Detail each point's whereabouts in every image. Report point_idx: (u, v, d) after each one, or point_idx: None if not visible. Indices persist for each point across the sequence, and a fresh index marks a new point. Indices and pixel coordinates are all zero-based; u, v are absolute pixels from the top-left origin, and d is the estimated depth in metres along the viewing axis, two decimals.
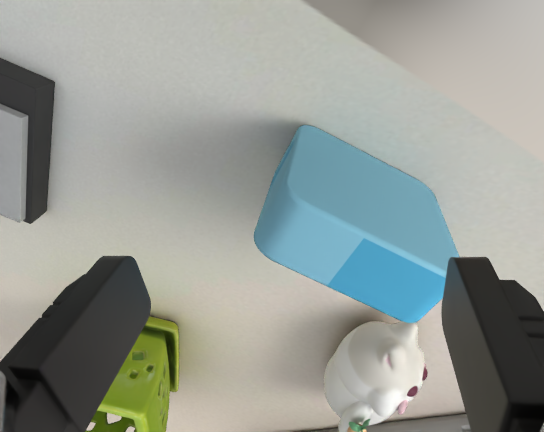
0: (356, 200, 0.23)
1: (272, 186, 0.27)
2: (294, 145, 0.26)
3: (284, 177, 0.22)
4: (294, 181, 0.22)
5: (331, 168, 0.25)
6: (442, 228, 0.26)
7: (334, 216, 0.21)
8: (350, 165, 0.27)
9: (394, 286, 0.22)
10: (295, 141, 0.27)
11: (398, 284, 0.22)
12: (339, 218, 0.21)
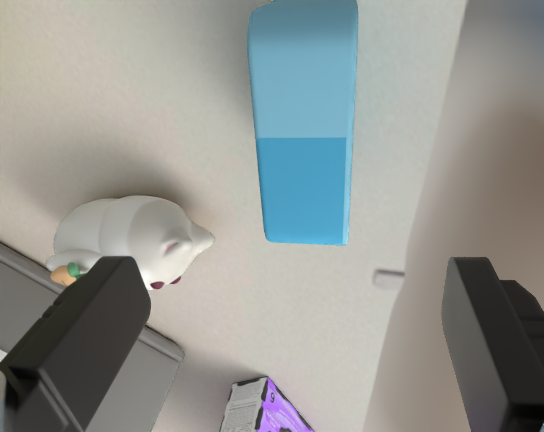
0: None
1: (295, 0, 0.20)
2: None
3: (354, 2, 0.16)
4: None
5: None
6: None
7: (354, 91, 0.16)
8: None
9: (304, 199, 0.19)
10: None
11: (308, 202, 0.19)
12: (354, 98, 0.17)
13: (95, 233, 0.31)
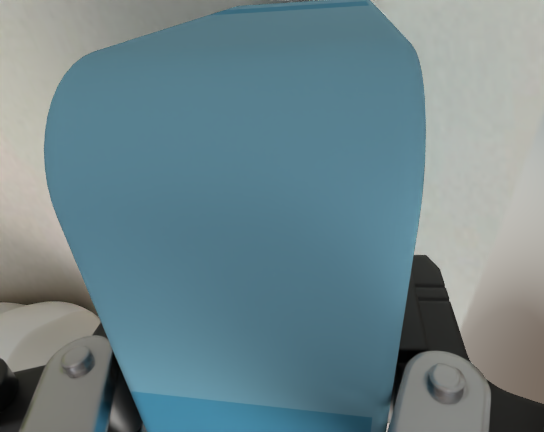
0: None
1: (242, 17, 0.09)
2: (377, 9, 0.09)
3: (401, 36, 0.05)
4: None
5: None
6: None
7: (402, 319, 0.05)
8: None
9: None
10: (375, 6, 0.10)
11: None
12: None
13: None
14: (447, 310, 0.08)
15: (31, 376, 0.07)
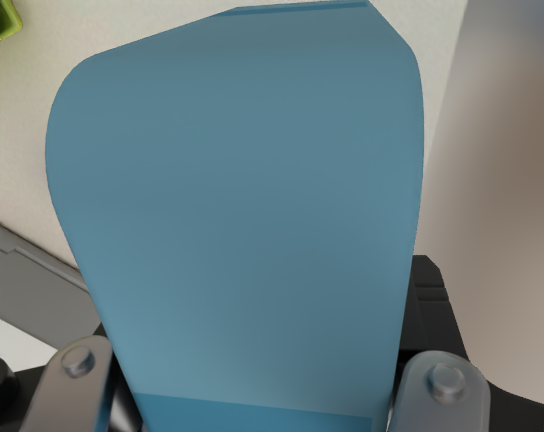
0: None
1: (242, 19, 0.09)
2: (376, 10, 0.09)
3: (400, 38, 0.05)
4: None
5: None
6: None
7: (402, 320, 0.05)
8: None
9: None
10: (374, 7, 0.10)
11: None
12: None
13: None
14: (447, 310, 0.08)
15: (31, 376, 0.07)
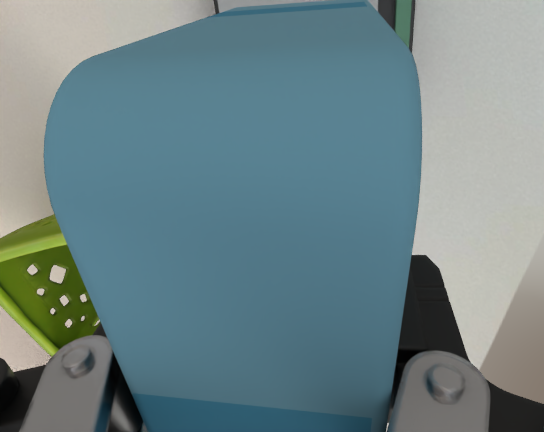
0: None
1: (241, 19, 0.09)
2: (375, 10, 0.09)
3: (398, 39, 0.05)
4: None
5: None
6: None
7: (401, 320, 0.05)
8: None
9: None
10: (373, 7, 0.10)
11: None
12: (399, 333, 0.05)
13: None
14: (447, 310, 0.08)
15: (31, 376, 0.07)
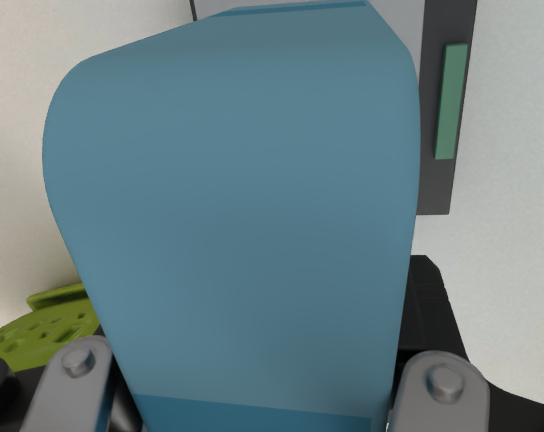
0: None
1: (240, 19, 0.09)
2: (374, 9, 0.09)
3: (396, 38, 0.05)
4: None
5: None
6: None
7: (400, 320, 0.05)
8: None
9: None
10: (372, 6, 0.10)
11: None
12: None
13: None
14: (446, 310, 0.08)
15: (31, 376, 0.07)
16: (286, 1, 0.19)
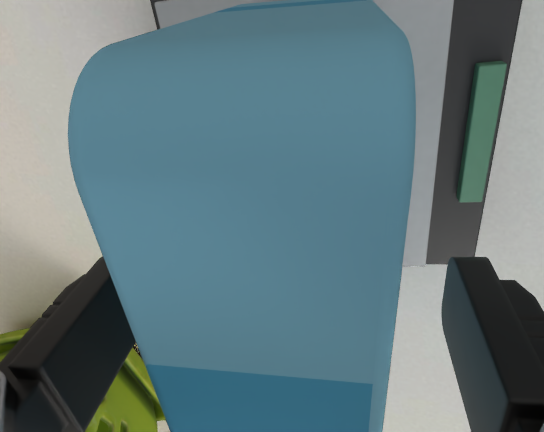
0: None
1: (246, 13, 0.09)
2: (375, 4, 0.09)
3: (394, 25, 0.05)
4: None
5: None
6: None
7: (399, 286, 0.05)
8: None
9: None
10: (372, 1, 0.10)
11: None
12: (397, 300, 0.06)
13: None
14: None
15: None
16: None
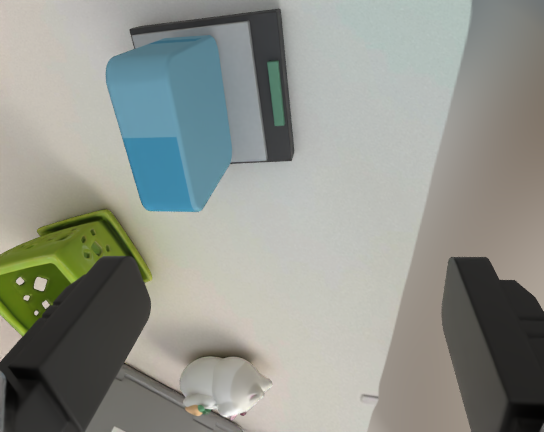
0: (193, 115, 0.29)
1: (155, 45, 0.29)
2: (196, 42, 0.30)
3: (173, 52, 0.26)
4: (175, 62, 0.26)
5: (200, 82, 0.31)
6: (215, 181, 0.34)
7: (174, 107, 0.26)
8: (210, 94, 0.33)
9: (160, 179, 0.29)
10: (199, 40, 0.31)
11: (163, 180, 0.29)
12: (176, 112, 0.26)
13: (210, 385, 0.58)
14: None
15: None
16: None
